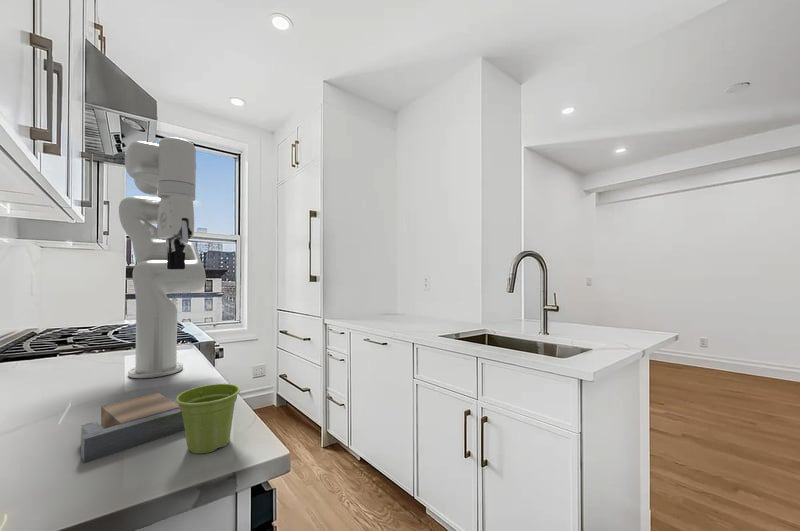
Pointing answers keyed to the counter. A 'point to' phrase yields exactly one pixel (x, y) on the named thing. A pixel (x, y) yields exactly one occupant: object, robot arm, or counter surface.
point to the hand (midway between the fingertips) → (176, 269)
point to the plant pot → (208, 415)
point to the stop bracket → (127, 434)
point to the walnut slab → (135, 409)
